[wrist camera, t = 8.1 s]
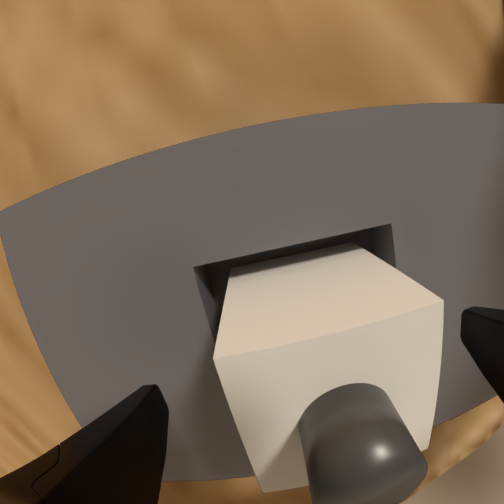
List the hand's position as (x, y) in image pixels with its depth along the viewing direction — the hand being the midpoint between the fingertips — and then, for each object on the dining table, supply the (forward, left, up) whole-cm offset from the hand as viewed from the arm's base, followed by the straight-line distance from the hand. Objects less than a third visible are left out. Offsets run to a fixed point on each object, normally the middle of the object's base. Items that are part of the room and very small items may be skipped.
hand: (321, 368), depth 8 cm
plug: (0, 0, -4) cm, 4 cm away
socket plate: (0, 0, -4) cm, 4 cm away
